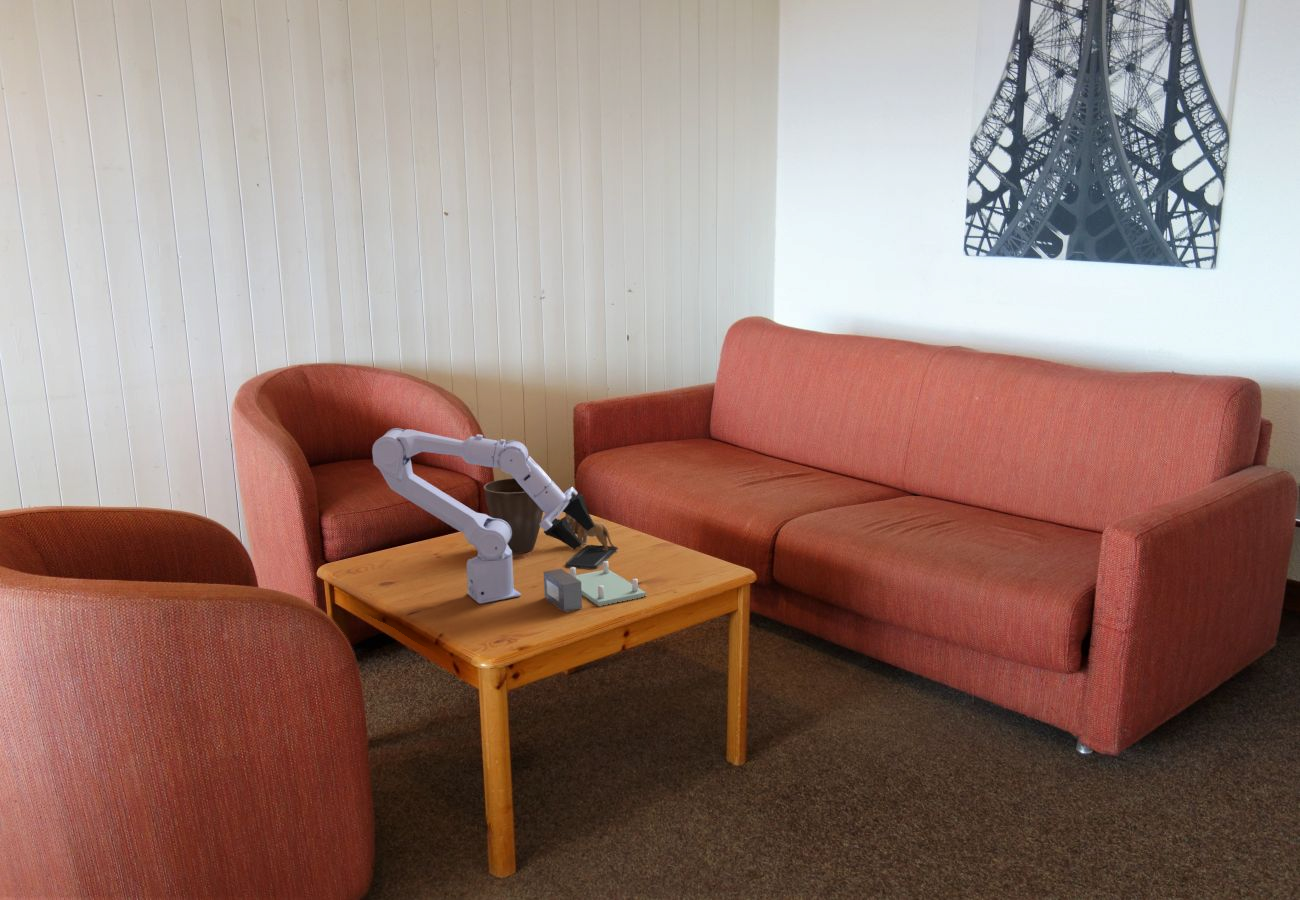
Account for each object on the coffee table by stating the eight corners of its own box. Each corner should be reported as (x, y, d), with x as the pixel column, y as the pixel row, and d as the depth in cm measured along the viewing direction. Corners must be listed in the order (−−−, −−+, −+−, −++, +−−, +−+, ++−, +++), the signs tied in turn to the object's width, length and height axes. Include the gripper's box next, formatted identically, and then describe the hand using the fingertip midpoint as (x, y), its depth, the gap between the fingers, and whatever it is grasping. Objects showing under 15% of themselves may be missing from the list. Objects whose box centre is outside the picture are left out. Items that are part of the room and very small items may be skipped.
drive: (564, 613, 226) (563, 585, 225) (544, 598, 234) (543, 571, 233) (582, 609, 228) (581, 581, 227) (562, 595, 236) (561, 568, 235)
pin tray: (599, 606, 229) (598, 590, 228) (563, 581, 244) (562, 566, 243) (645, 596, 234) (645, 581, 233) (608, 573, 249) (607, 558, 248)
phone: (617, 546, 266) (596, 566, 252) (617, 551, 266) (596, 571, 252) (586, 544, 268) (563, 563, 254) (586, 549, 268) (564, 568, 255)
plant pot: (478, 545, 272) (475, 482, 268) (535, 536, 278) (532, 474, 275) (500, 562, 259) (496, 496, 255) (558, 551, 266) (556, 487, 262)
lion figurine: (560, 547, 269) (558, 511, 267) (571, 541, 274) (570, 506, 272) (613, 554, 263) (612, 518, 261) (623, 548, 267) (622, 512, 265)
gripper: (540, 497, 224) (584, 546, 226) (567, 464, 236) (609, 511, 238) (518, 513, 227) (561, 561, 230) (546, 480, 240) (587, 526, 242)
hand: (584, 537), depth 234 cm, fingers open, 7 cm apart
